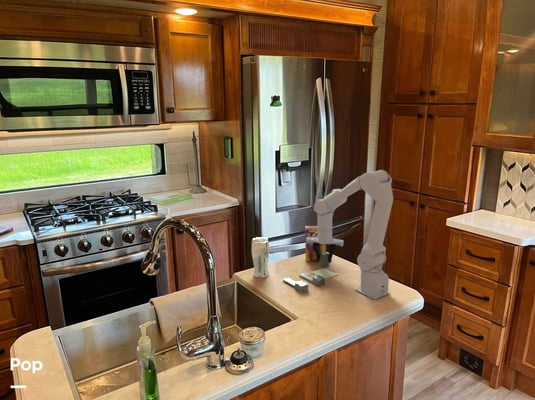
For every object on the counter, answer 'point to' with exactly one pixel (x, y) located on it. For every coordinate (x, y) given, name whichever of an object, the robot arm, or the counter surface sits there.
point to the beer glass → (260, 257)
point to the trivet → (324, 273)
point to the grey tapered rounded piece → (324, 259)
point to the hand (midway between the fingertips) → (324, 261)
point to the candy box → (310, 253)
